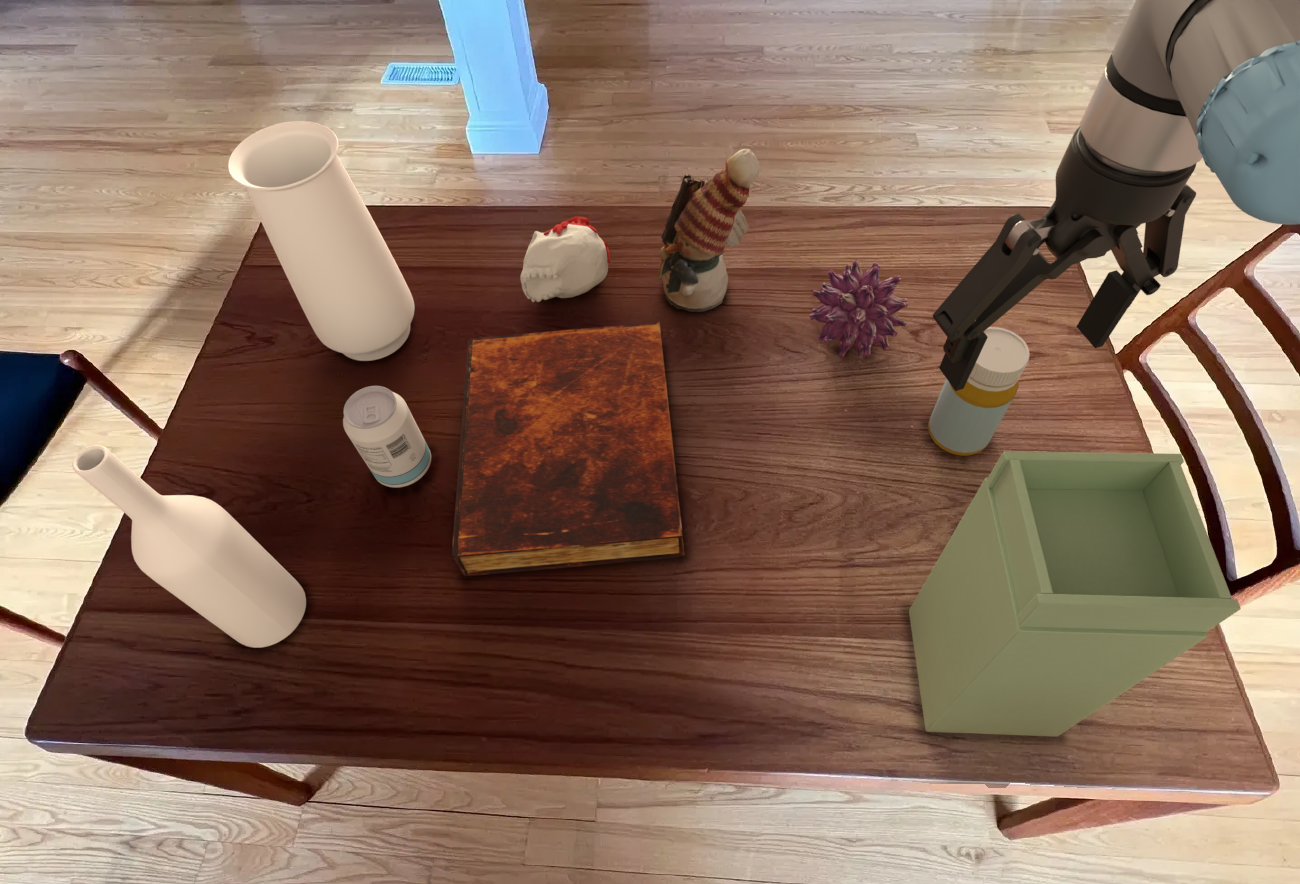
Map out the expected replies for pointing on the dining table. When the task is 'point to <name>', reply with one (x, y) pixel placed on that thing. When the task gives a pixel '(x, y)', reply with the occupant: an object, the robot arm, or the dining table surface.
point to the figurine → (705, 234)
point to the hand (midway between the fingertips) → (1021, 357)
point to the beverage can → (386, 436)
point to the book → (565, 452)
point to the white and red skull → (564, 261)
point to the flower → (858, 309)
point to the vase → (325, 239)
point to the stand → (1063, 591)
